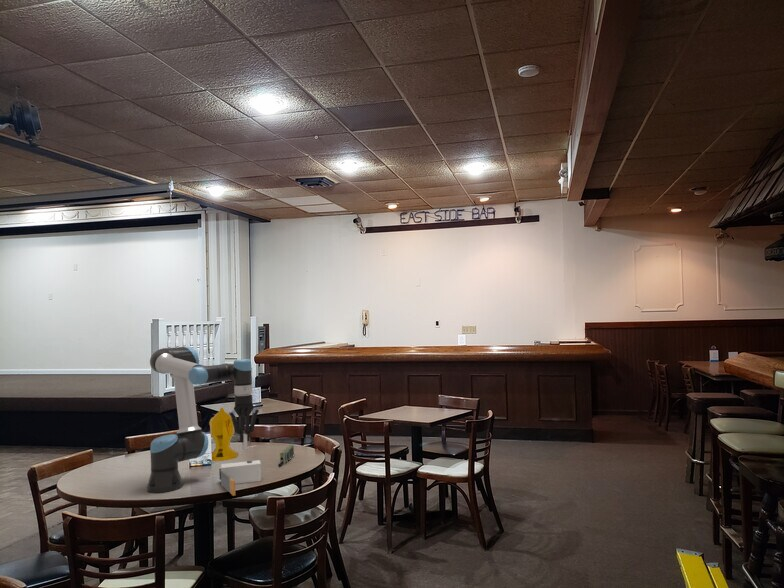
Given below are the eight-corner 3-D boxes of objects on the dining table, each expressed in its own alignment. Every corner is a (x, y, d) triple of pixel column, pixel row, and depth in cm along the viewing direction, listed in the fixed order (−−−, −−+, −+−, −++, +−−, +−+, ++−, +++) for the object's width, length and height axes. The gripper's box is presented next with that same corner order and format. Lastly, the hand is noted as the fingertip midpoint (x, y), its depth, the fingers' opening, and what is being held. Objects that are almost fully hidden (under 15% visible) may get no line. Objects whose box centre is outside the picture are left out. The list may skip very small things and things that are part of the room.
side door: (220, 483, 264) (220, 470, 264) (223, 483, 265) (222, 470, 265) (233, 495, 244) (232, 481, 244) (235, 495, 244) (235, 481, 245)
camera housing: (219, 485, 265) (219, 466, 265) (219, 481, 273) (219, 463, 273) (261, 480, 270) (260, 462, 271) (260, 476, 278) (259, 458, 278)
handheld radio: (295, 456, 321) (282, 467, 296) (289, 456, 321) (276, 467, 296) (294, 444, 321) (281, 454, 296) (288, 444, 322) (275, 454, 297)
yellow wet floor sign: (218, 463, 310) (217, 411, 311) (197, 457, 327) (196, 408, 329) (247, 457, 322) (245, 407, 324) (225, 452, 339) (224, 404, 341)
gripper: (231, 397, 245) (232, 452, 244) (260, 394, 252) (262, 448, 251) (226, 395, 251) (227, 450, 250) (255, 392, 258) (256, 445, 257)
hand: (244, 449), depth 250 cm, fingers closed
